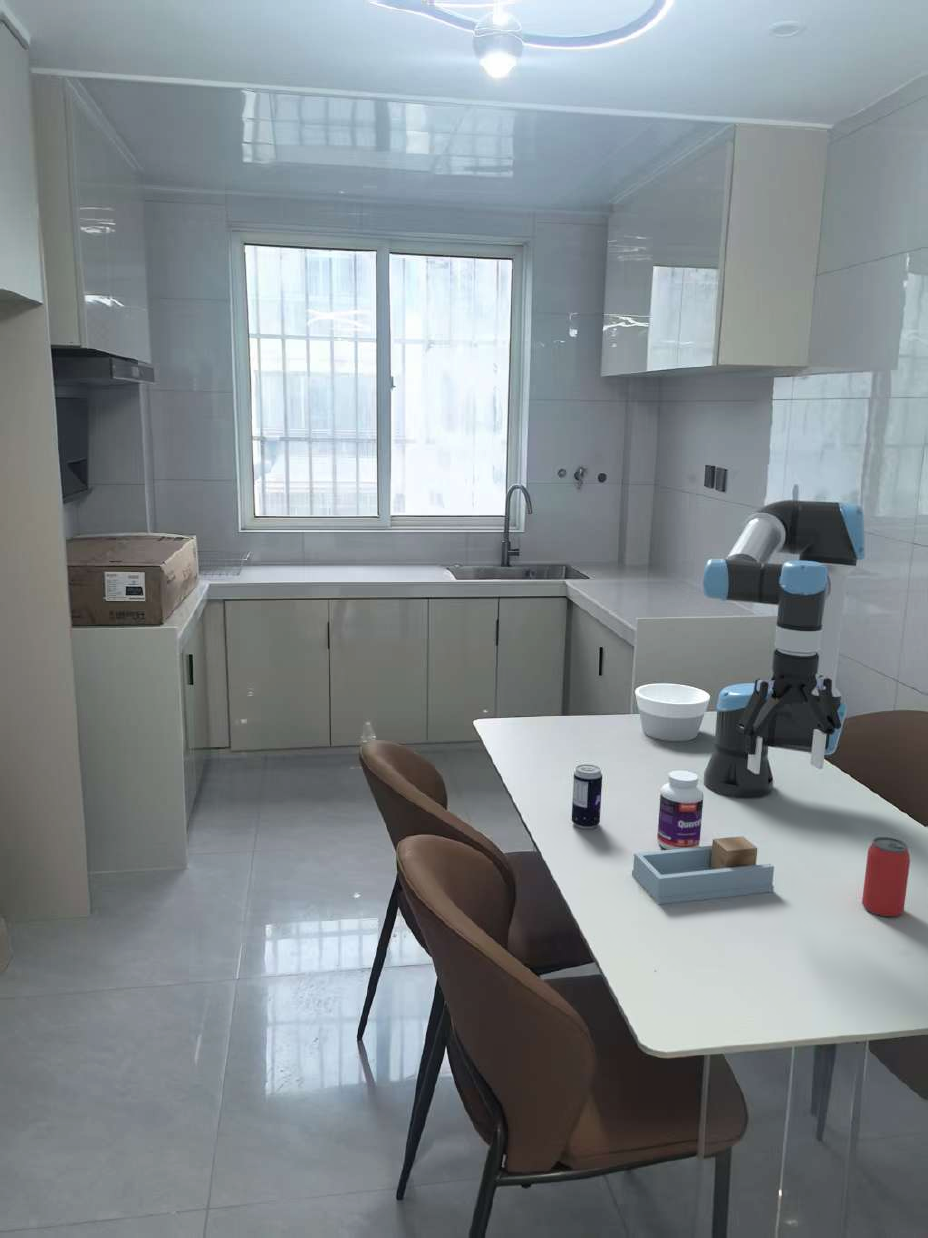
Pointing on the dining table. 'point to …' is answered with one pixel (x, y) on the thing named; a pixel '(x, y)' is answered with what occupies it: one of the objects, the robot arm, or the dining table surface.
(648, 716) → the bowl
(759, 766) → the robot arm
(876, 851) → the beer can
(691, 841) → the pill bottle
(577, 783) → the beverage can
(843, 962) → the dining table surface
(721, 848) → the walnut block
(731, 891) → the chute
